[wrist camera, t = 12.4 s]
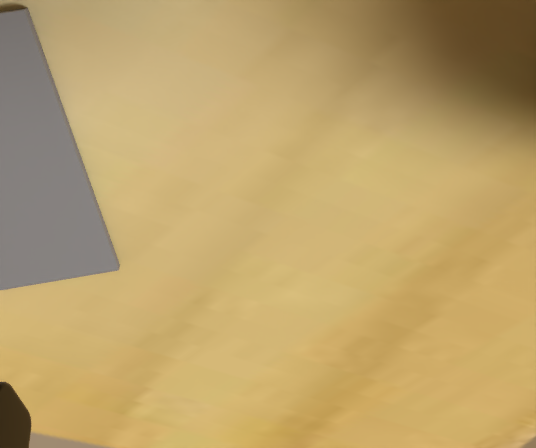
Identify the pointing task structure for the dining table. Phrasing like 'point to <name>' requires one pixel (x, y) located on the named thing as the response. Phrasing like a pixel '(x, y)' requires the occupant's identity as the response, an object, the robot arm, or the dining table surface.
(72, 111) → the dining table surface
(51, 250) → the mat
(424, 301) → the dining table surface
